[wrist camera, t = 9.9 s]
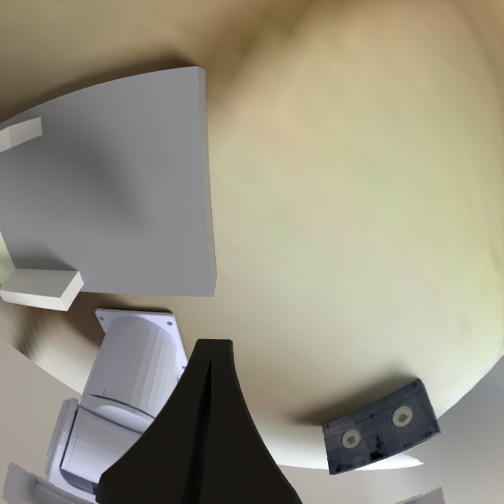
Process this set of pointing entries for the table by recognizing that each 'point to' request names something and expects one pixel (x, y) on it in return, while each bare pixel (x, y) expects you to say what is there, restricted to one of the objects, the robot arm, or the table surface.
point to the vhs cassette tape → (380, 429)
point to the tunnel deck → (108, 193)
